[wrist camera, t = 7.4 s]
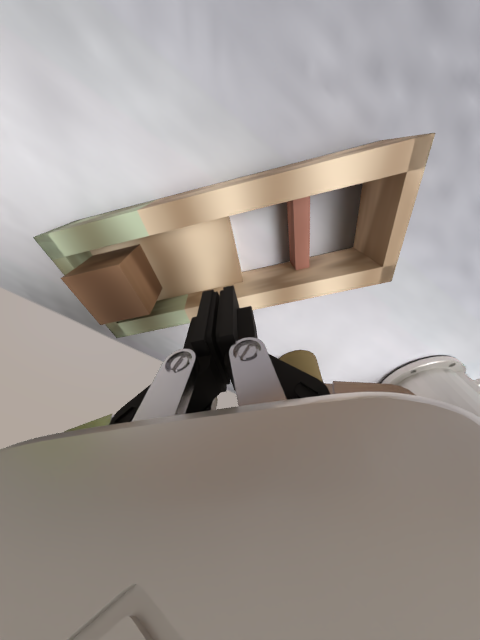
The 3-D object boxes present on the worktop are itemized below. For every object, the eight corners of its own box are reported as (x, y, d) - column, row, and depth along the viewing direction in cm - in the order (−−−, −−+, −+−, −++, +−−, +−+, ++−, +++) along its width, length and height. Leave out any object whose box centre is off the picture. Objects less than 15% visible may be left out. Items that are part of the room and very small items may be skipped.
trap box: (382, 140, 14) (435, 132, 11) (361, 259, 20) (391, 281, 16) (74, 220, 16) (32, 237, 13) (134, 309, 22) (116, 338, 18)
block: (139, 244, 16) (118, 264, 12) (162, 288, 18) (149, 314, 15) (92, 255, 16) (60, 278, 13) (121, 297, 18) (100, 324, 15)
